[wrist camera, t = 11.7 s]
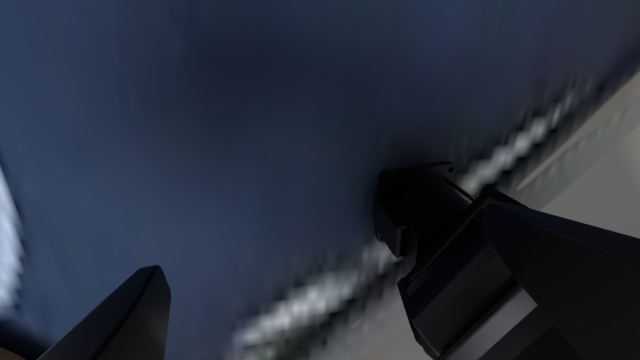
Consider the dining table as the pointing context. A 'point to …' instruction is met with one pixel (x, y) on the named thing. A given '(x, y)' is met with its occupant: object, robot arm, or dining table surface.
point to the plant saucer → (8, 355)
